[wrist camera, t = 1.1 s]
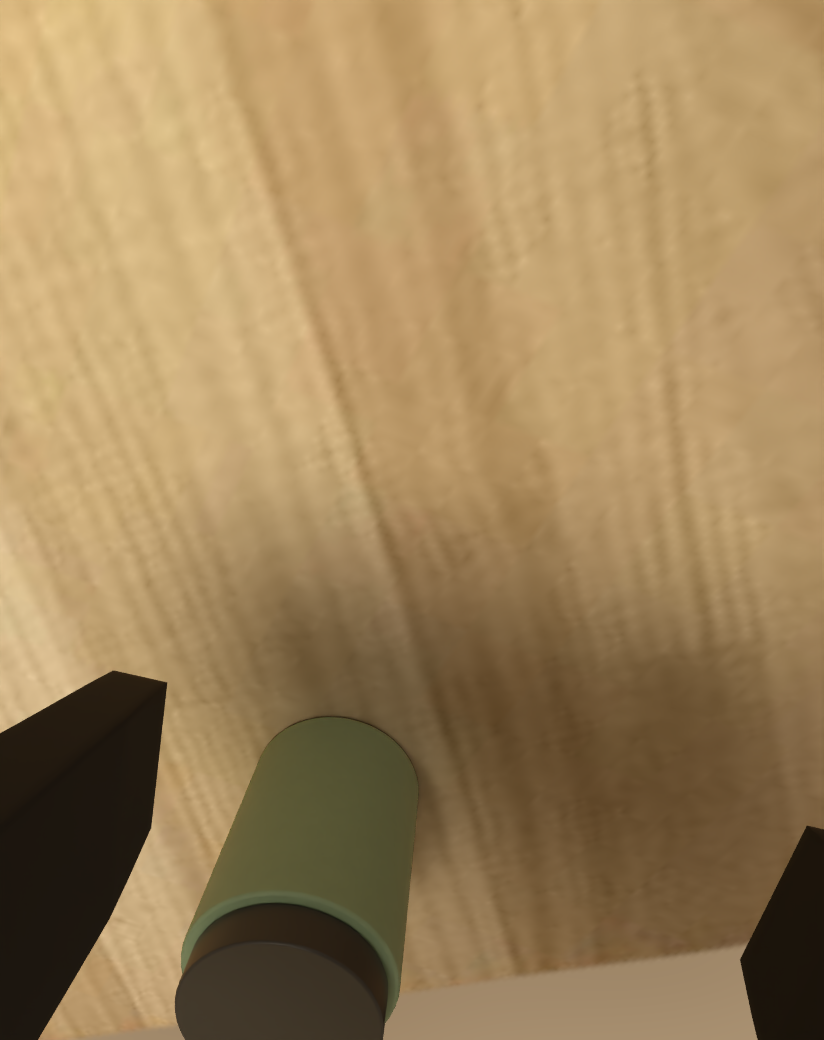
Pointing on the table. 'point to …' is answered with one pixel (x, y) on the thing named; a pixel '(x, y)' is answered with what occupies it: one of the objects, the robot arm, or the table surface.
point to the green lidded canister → (307, 894)
